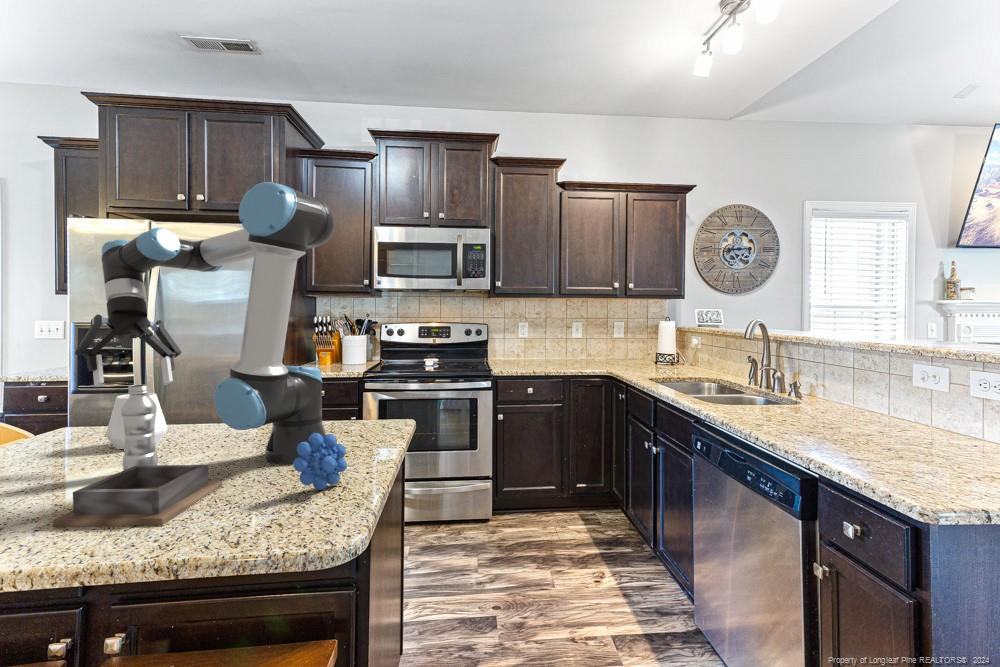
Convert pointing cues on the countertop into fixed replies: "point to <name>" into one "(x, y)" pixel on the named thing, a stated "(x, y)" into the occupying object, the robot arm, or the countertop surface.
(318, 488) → the blue bumpy flower
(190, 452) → the countertop surface
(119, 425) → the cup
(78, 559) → the countertop surface
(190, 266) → the robot arm
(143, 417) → the plastic bottle
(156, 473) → the bottle dock
